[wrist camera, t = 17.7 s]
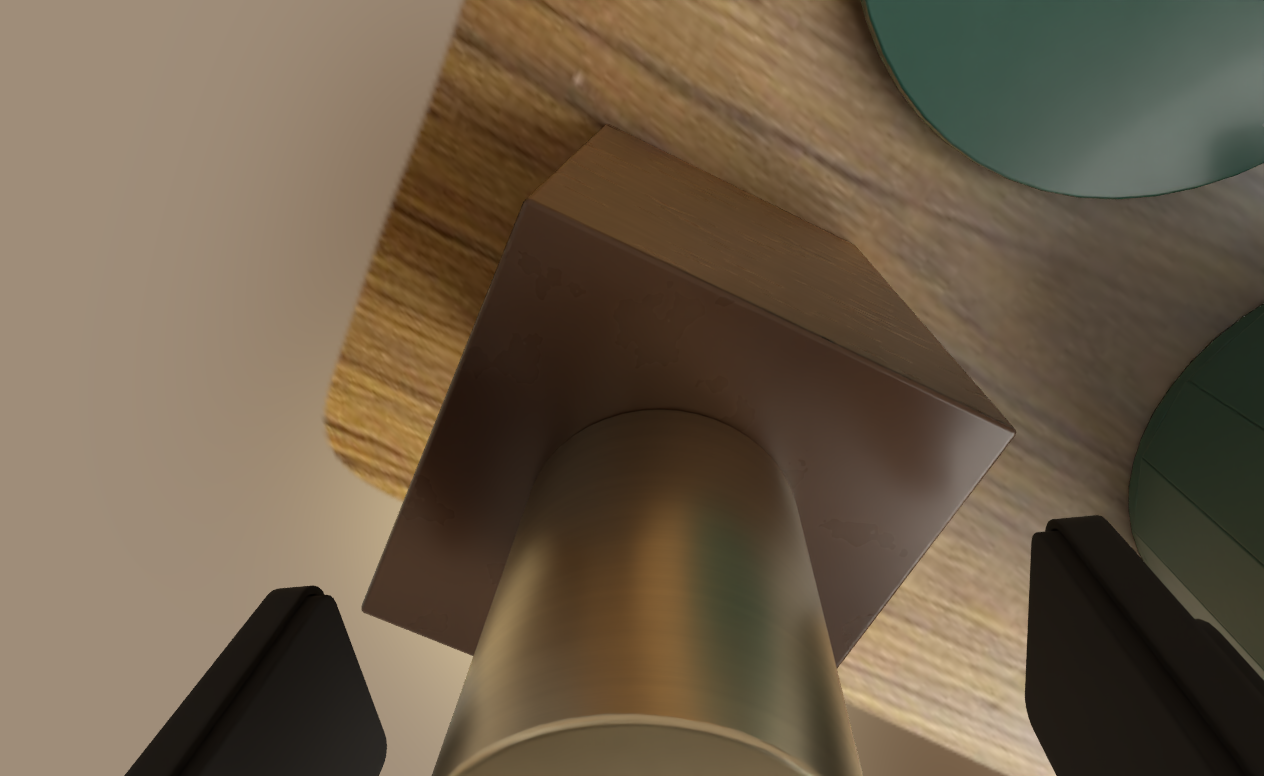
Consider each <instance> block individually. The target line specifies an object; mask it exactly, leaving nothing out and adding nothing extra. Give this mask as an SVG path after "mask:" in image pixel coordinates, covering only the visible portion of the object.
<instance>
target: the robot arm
mask: <svg viewBox="0 0 1264 776" xmlns="http://www.w3.org/2000/svg"><path fill="white" fill-rule="evenodd" d="M1025 702H1026V709H1027V713H1028V717H1029V720H1030V723H1031V725H1032V727H1033V730H1034V732H1035V734H1036V736H1037V738H1038V740H1039V742H1040V744H1041V746H1042V748H1043V750H1044V752H1045V754H1046V756H1047V758H1048V760H1049V762H1050V763H1051V765H1052V767H1053V769H1054V771H1055V773H1056V775H1057V776H1264V680H1263V679H1262V678H1261V677H1260V676H1259V674H1258V673H1257V672H1256V671H1255V670H1254V669H1253V668H1252V667H1251V666H1250V665H1249V663H1248V662H1247V661H1246V660H1245V659H1244V658H1243V657H1242V656H1241V655H1240V654H1239V652H1238V651H1237V650H1236V649H1235V648H1234V647H1233V646H1232V645H1231V644H1230V643H1229V641H1228V640H1227V639H1226V638H1225V637H1224V636H1223V635H1222V634H1221V633H1220V632H1219V631H1218V630H1217V629H1216V628H1215V627H1213V626H1212V625H1211V624H1210V623H1209V622H1206V621H1204V620H1201V619H1194V618H1193V617H1192V615H1191V614H1190V613H1189V612H1188V611H1187V610H1186V609H1185V608H1184V606H1183V605H1182V604H1181V603H1180V602H1179V601H1178V600H1177V599H1176V597H1175V596H1174V595H1173V594H1172V593H1171V592H1170V591H1169V590H1168V588H1167V587H1166V586H1165V585H1164V584H1163V583H1162V582H1161V581H1160V579H1159V578H1158V577H1157V576H1156V575H1155V574H1154V573H1153V572H1152V570H1151V569H1150V568H1149V567H1148V566H1147V565H1146V564H1145V563H1144V561H1143V560H1142V559H1141V558H1140V557H1139V556H1138V555H1137V553H1136V552H1135V551H1134V550H1133V549H1132V548H1131V547H1130V546H1129V544H1128V543H1127V542H1126V541H1125V540H1124V539H1123V538H1122V537H1121V535H1120V534H1119V533H1118V532H1117V531H1116V530H1115V529H1114V528H1113V526H1112V525H1111V524H1110V523H1109V522H1108V521H1107V520H1106V519H1105V518H1104V517H1102V516H1098V515H1094V516H1083V517H1072V518H1061V519H1052V520H1050V521H1048V523H1047V526H1046V530H1045V532H1037V533H1035V534H1034V535H1033V537H1032V544H1031V566H1030V589H1029V612H1028V636H1027V659H1026V682H1025ZM386 750H387V744H386V737H385V733H384V730H383V728H382V725H381V722H380V720H379V717H378V714H377V712H376V709H375V706H374V704H373V701H372V698H371V695H370V693H369V690H368V687H367V685H366V682H365V680H364V677H363V674H362V671H361V669H360V666H359V663H358V660H357V658H356V655H355V653H354V650H353V647H352V645H351V642H350V639H349V636H348V634H347V631H346V628H345V626H344V623H343V620H342V618H341V615H340V612H339V610H338V607H337V604H336V602H335V600H334V598H332V597H331V596H329V595H324V593H323V591H322V590H321V589H320V588H319V587H316V586H303V587H292V588H280V589H276V590H273V591H272V592H270V593H269V594H268V595H267V596H266V598H265V599H264V600H263V601H262V603H261V604H260V605H259V607H258V608H257V609H256V610H255V612H254V613H253V614H252V615H251V617H250V618H249V619H248V620H247V622H246V623H245V624H244V626H243V627H242V628H241V629H240V630H239V632H238V633H237V634H236V635H235V637H234V638H233V639H232V641H231V642H230V643H229V644H228V646H227V647H226V648H225V649H224V651H223V652H222V653H221V654H220V656H219V657H218V658H217V659H216V661H215V662H214V663H213V665H212V666H211V667H210V668H209V670H208V671H207V672H206V673H205V675H204V676H203V677H202V678H201V680H200V681H199V682H198V684H197V685H196V686H195V687H194V688H193V690H192V691H191V692H190V694H189V695H188V696H187V697H186V699H185V700H184V701H183V702H182V704H181V705H180V706H179V708H178V709H177V710H176V711H175V713H174V714H173V715H172V716H171V718H170V719H169V720H168V721H167V723H166V724H165V725H164V726H163V728H162V729H161V730H160V731H159V733H158V734H157V735H156V736H155V738H154V739H153V740H152V742H151V743H150V744H149V745H148V747H147V748H146V749H145V750H144V752H143V753H142V754H141V755H140V757H139V758H138V759H137V760H136V762H135V763H134V764H133V765H132V767H131V768H130V770H129V771H128V772H127V773H126V774H125V776H379V774H380V772H381V769H382V767H383V764H384V762H385V758H386Z"/></svg>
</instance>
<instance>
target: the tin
mask: <svg viewBox="0 0 1264 776" xmlns="http://www.w3.org/2000/svg"><path fill="white" fill-rule="evenodd" d="M432 776H863V774H862V769H861V765H860V761H859V757H858V753H857V749H856V745H855V741H854V737H853V732H852V728H851V724H850V720H849V717H848V712H847V708H846V704H845V700H844V696H843V692H842V688H841V684H840V680H839V675H838V671H837V667H836V663H835V659H834V655H833V651H832V647H831V643H830V639H829V635H828V631H827V627H826V623H825V619H824V614H823V610H822V606H821V602H820V598H819V594H818V590H817V586H816V582H815V578H814V574H813V570H812V566H811V562H810V558H809V553H808V549H807V545H806V541H805V537H804V533H803V529H802V525H801V521H800V517H799V513H798V509H797V505H796V502H795V499H794V496H793V493H792V490H791V487H790V485H789V484H788V482H787V480H786V478H785V476H784V474H783V473H782V471H781V470H780V468H779V467H778V466H777V464H776V463H775V461H774V460H773V459H772V458H771V457H770V456H769V455H768V454H767V453H766V452H765V451H764V450H763V449H762V448H761V447H760V446H759V445H758V444H756V443H755V442H754V441H753V440H751V439H750V438H749V437H747V436H746V435H744V434H742V433H741V432H739V431H737V430H736V429H734V428H733V427H730V426H728V425H726V424H724V423H721V422H719V421H717V420H715V419H711V418H708V417H705V416H702V415H698V414H694V413H688V412H683V411H676V410H642V411H636V412H630V413H625V414H620V415H617V416H614V417H611V418H608V419H604V420H602V421H600V422H598V423H595V424H593V425H591V426H589V427H587V428H585V429H584V430H582V431H580V432H579V433H577V434H576V435H574V436H572V437H571V438H570V439H569V440H568V441H566V442H565V443H564V444H563V445H562V446H560V447H559V448H558V449H557V450H556V452H555V453H554V454H553V455H552V456H551V457H550V458H549V459H548V461H547V462H546V464H545V465H544V467H543V468H542V469H541V471H540V472H539V474H538V476H537V479H536V481H535V483H534V485H533V487H532V490H531V493H530V496H529V498H528V501H527V504H526V507H525V510H524V513H523V516H522V519H521V521H520V524H519V527H518V530H517V533H516V536H515V539H514V541H513V544H512V547H511V550H510V553H509V556H508V559H507V562H506V564H505V567H504V570H503V573H502V576H501V579H500V582H499V584H498V587H497V590H496V593H495V596H494V599H493V602H492V605H491V607H490V610H489V613H488V616H487V619H486V622H485V625H484V627H483V630H482V633H481V636H480V639H479V642H478V645H477V648H476V650H475V653H474V656H473V659H472V662H471V665H470V668H469V671H468V673H467V676H466V679H465V682H464V685H463V688H462V691H461V693H460V696H459V699H458V702H457V705H456V708H455V711H454V713H453V716H452V719H451V722H450V725H449V728H448V731H447V734H446V736H445V739H444V742H443V745H442V748H441V751H440V754H439V757H438V760H437V762H436V765H435V768H434V771H433V774H432Z"/></svg>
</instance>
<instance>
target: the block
mask: <svg viewBox="0 0 1264 776" xmlns="http://www.w3.org/2000/svg"><path fill="white" fill-rule="evenodd" d="M642 410H676V411H683V412H688V413H694V414H698V415H702V416H705V417H708V418H711V419H715V420H717V421H719V422H721V423H724V424H726V425H728V426H730V427H733V428H734V429H736V430H737V431H739V432H741V433H742V434H744V435H746V436H747V437H749V438H750V439H751V440H753V441H754V442H755V443H756V444H758V445H759V446H760V447H761V448H762V449H763V450H764V451H765V452H766V453H767V454H768V455H769V456H770V457H771V458H772V459H773V460H774V461H775V463H776V464H777V466H778V467H779V468H780V470H781V471H782V473H783V474H784V476H785V478H786V480H787V482H788V484H789V485H790V487H791V490H792V493H793V496H794V499H795V502H796V505H797V509H798V513H799V517H800V521H801V525H802V529H803V533H804V537H805V541H806V545H807V549H808V553H809V558H810V562H811V566H812V570H813V574H814V578H815V582H816V586H817V590H818V594H819V598H820V602H821V606H822V610H823V614H824V619H825V623H826V627H827V631H828V635H829V639H830V643H831V647H832V651H833V655H834V659H835V663H836V667H837V668H838V667H839V665H840V664H841V663H842V661H843V660H844V659H845V657H846V656H847V655H848V654H849V652H850V651H851V650H852V648H853V647H854V646H855V644H856V643H857V642H858V640H859V639H860V638H861V637H862V635H863V634H864V633H865V631H866V630H867V629H868V627H869V626H870V625H871V623H872V622H873V621H874V619H875V618H876V617H877V616H878V614H879V613H880V612H881V610H882V609H883V608H884V606H885V605H886V604H887V602H888V601H889V600H890V599H891V597H892V596H893V595H894V593H895V592H896V591H897V589H898V588H899V587H900V585H901V584H902V583H903V582H904V580H905V579H906V578H907V576H908V575H909V574H910V572H911V571H912V570H913V568H914V567H915V566H916V565H917V563H918V562H919V561H920V559H921V558H922V557H923V555H924V554H925V553H926V551H927V550H928V549H929V548H930V546H931V545H932V544H933V542H934V541H935V540H936V538H937V537H938V536H939V534H940V533H941V532H942V531H943V529H944V528H945V527H946V525H947V524H948V523H949V521H950V520H951V519H952V517H953V516H954V515H955V513H956V512H957V511H958V510H959V508H960V507H961V506H962V504H963V503H964V502H965V500H966V499H967V498H968V496H969V495H970V494H971V493H972V491H973V490H974V489H975V487H976V486H977V485H978V483H979V482H980V481H981V479H982V478H983V477H984V476H985V474H986V473H987V472H988V470H989V469H990V468H991V466H992V465H993V464H994V462H995V461H996V460H997V459H998V457H999V456H1000V455H1001V453H1002V452H1003V451H1004V449H1005V448H1006V447H1007V445H1008V444H1009V443H1010V442H1011V440H1012V439H1013V438H1014V436H1015V434H1016V430H1015V429H1014V427H1013V426H1012V425H1011V424H1010V423H1009V422H1008V420H1007V419H1006V418H1005V417H1004V416H1003V415H1002V414H1001V412H1000V411H999V410H998V409H997V408H996V407H995V405H994V404H993V403H992V402H991V401H990V400H989V399H988V397H987V396H986V395H985V394H984V393H983V392H982V391H981V389H980V388H979V387H978V386H977V385H976V384H975V383H974V381H973V380H972V379H971V378H970V377H969V376H968V375H967V373H966V372H965V371H964V370H963V369H962V368H961V366H960V365H959V364H958V363H957V362H956V361H955V360H954V358H953V357H952V356H951V355H950V354H949V353H948V352H947V350H946V349H945V348H944V347H943V346H942V345H941V344H940V342H939V341H938V340H937V339H936V338H935V337H934V336H933V334H932V333H931V332H930V331H929V330H928V329H927V327H926V326H925V325H924V324H923V323H922V322H921V321H920V319H919V318H918V317H917V316H916V315H915V314H914V313H913V311H912V310H911V309H910V308H909V307H908V306H907V305H906V303H905V302H904V301H903V300H902V299H901V298H900V297H899V295H898V294H897V293H896V292H895V291H894V290H893V289H892V287H891V286H890V285H889V284H888V283H887V282H886V280H885V279H884V278H883V277H882V276H881V275H880V274H879V272H878V271H877V270H876V269H875V268H874V267H873V266H872V264H871V263H870V262H869V261H868V260H867V259H866V258H865V256H864V255H863V254H862V253H861V252H860V251H859V250H858V248H857V247H856V246H855V245H853V244H851V243H849V242H847V241H845V240H843V239H841V238H839V237H837V236H835V235H833V234H831V233H829V232H827V231H825V230H823V229H821V228H819V227H817V226H814V225H812V224H810V223H808V222H806V221H804V220H802V219H800V218H798V217H796V216H794V215H792V214H790V213H788V212H786V211H784V210H782V209H780V208H778V207H776V206H774V205H772V204H770V203H768V202H766V201H764V200H762V199H760V198H758V197H756V196H754V195H752V194H750V193H748V192H745V191H743V190H741V189H739V188H737V187H735V186H733V185H731V184H729V183H727V182H725V181H723V180H721V179H719V178H717V177H715V176H713V175H711V174H709V173H707V172H705V171H703V170H701V169H699V168H697V167H695V166H693V165H691V164H689V163H687V162H685V161H683V160H681V159H679V158H676V157H674V156H672V155H670V154H668V153H666V152H664V151H662V150H660V149H658V148H656V147H654V146H652V145H650V144H648V143H646V142H644V141H642V140H640V139H638V138H636V137H634V136H632V135H630V134H628V133H626V132H624V131H622V130H620V129H618V128H616V127H614V126H612V125H610V124H606V125H605V126H604V127H603V128H602V129H600V130H599V131H598V132H597V133H596V134H595V135H594V136H593V137H592V138H591V139H590V140H589V141H588V142H587V143H586V144H585V145H583V146H582V147H581V148H580V149H579V150H578V151H577V152H576V153H575V154H574V155H573V156H572V157H571V158H570V159H569V160H567V161H566V162H565V163H564V164H563V165H562V166H561V167H560V168H559V169H558V170H557V171H556V172H555V173H554V174H553V175H552V176H550V177H549V178H548V179H547V180H546V181H545V182H544V183H543V184H542V185H541V186H540V187H539V188H538V189H537V190H536V191H534V192H533V193H532V194H531V195H530V196H529V197H528V198H527V199H526V200H525V201H524V202H523V204H522V207H521V209H520V212H519V214H518V217H517V219H516V222H515V224H514V227H513V229H512V232H511V234H510V237H509V239H508V242H507V244H506V247H505V249H504V252H503V254H502V257H501V259H500V262H499V264H498V267H497V269H496V272H495V274H494V277H493V279H492V282H491V284H490V287H489V289H488V292H487V294H486V297H485V299H484V302H483V304H482V307H481V309H480V312H479V314H478V317H477V319H476V322H475V324H474V327H473V329H472V332H471V334H470V337H469V339H468V342H467V344H466V347H465V349H464V352H463V354H462V357H461V359H460V362H459V364H458V367H457V369H456V372H455V374H454V377H453V379H452V382H451V384H450V387H449V389H448V392H447V394H446V397H445V399H444V402H443V404H442V407H441V409H440V411H439V414H438V416H437V419H436V421H435V424H434V426H433V429H432V431H431V434H430V436H429V439H428V441H427V444H426V446H425V449H424V451H423V454H422V456H421V459H420V461H419V464H418V466H417V469H416V471H415V474H414V476H413V479H412V481H411V484H410V486H409V489H408V491H407V494H406V496H405V499H404V501H403V504H402V506H401V509H400V511H399V514H398V516H397V519H396V521H395V524H394V526H393V529H392V531H391V534H390V536H389V539H388V541H387V544H386V546H385V549H384V551H383V554H382V556H381V559H380V561H379V564H378V566H377V569H376V571H375V574H374V576H373V579H372V581H371V584H370V586H369V589H368V591H367V594H366V596H365V599H364V601H363V604H362V611H363V612H364V613H366V614H369V615H372V616H374V617H376V618H379V619H381V620H384V621H386V622H389V623H391V624H394V625H396V626H399V627H401V628H404V629H406V630H409V631H412V632H414V633H417V634H419V635H422V636H424V637H427V638H429V639H432V640H435V641H437V642H439V643H442V644H444V645H447V646H450V647H452V648H454V649H457V650H460V651H462V652H464V653H467V654H469V655H472V656H474V653H475V650H476V648H477V645H478V642H479V639H480V636H481V633H482V630H483V627H484V625H485V622H486V619H487V616H488V613H489V610H490V607H491V605H492V602H493V599H494V596H495V593H496V590H497V587H498V584H499V582H500V579H501V576H502V573H503V570H504V567H505V564H506V562H507V559H508V556H509V553H510V550H511V547H512V544H513V541H514V539H515V536H516V533H517V530H518V527H519V524H520V521H521V519H522V516H523V513H524V510H525V507H526V504H527V501H528V498H529V496H530V493H531V490H532V487H533V485H534V483H535V481H536V479H537V476H538V474H539V472H540V471H541V469H542V468H543V467H544V465H545V464H546V462H547V461H548V459H549V458H550V457H551V456H552V455H553V454H554V453H555V452H556V450H557V449H558V448H559V447H560V446H562V445H563V444H564V443H565V442H566V441H568V440H569V439H570V438H571V437H572V436H574V435H576V434H577V433H579V432H580V431H582V430H584V429H585V428H587V427H589V426H591V425H593V424H595V423H598V422H600V421H602V420H604V419H608V418H611V417H614V416H617V415H620V414H625V413H630V412H636V411H642Z"/></svg>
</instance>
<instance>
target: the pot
mask: <svg viewBox="0 0 1264 776" xmlns="http://www.w3.org/2000/svg"><path fill="white" fill-rule="evenodd" d="M1129 515H1130V522H1131V528H1132V534H1133V537H1134V540H1135V542H1136V545H1137V548H1138V551H1139V554H1140V556H1141V557H1142V559H1143V561H1144V563H1145V564H1146V565H1147V566H1148V567H1149V568H1150V569H1151V570H1152V572H1153V573H1154V574H1155V575H1156V576H1157V577H1158V578H1159V579H1160V581H1161V582H1162V583H1163V584H1164V585H1165V586H1166V587H1167V588H1168V590H1169V591H1170V592H1171V593H1172V594H1173V595H1174V596H1175V597H1176V599H1177V600H1178V601H1179V602H1180V603H1181V604H1182V605H1183V606H1184V608H1185V609H1186V610H1187V611H1188V612H1189V613H1190V614H1191V615H1192V617H1193V618H1194V619H1201V620H1204V621H1206V622H1209V623H1210V624H1211V625H1212V626H1213V627H1215V628H1216V629H1217V630H1218V631H1219V632H1220V633H1221V634H1222V635H1223V636H1224V637H1225V638H1226V639H1227V640H1228V641H1229V643H1230V644H1231V645H1232V646H1233V647H1234V648H1235V649H1236V650H1237V651H1238V652H1239V654H1240V655H1241V656H1242V657H1243V658H1244V659H1245V660H1246V661H1247V662H1248V663H1249V665H1250V666H1251V667H1252V668H1253V669H1254V670H1255V671H1256V672H1257V673H1258V674H1259V676H1260V677H1261V678H1262V679H1263V680H1264V304H1263V305H1261V306H1259V307H1258V308H1256V309H1255V310H1253V311H1252V312H1250V313H1249V314H1247V315H1246V316H1244V317H1242V318H1241V319H1240V320H1239V321H1237V322H1236V323H1235V324H1234V325H1232V326H1231V327H1230V328H1229V329H1227V330H1226V331H1225V332H1224V333H1222V334H1221V335H1220V336H1219V337H1217V338H1216V339H1215V340H1214V341H1213V342H1212V343H1211V344H1210V345H1209V346H1208V347H1207V348H1206V349H1205V350H1204V351H1203V352H1201V353H1200V354H1199V355H1198V356H1197V357H1196V358H1195V359H1194V360H1193V361H1192V362H1191V363H1190V365H1189V366H1188V367H1187V368H1186V369H1185V371H1184V372H1183V373H1182V374H1181V375H1180V377H1179V378H1178V379H1177V380H1176V381H1175V383H1174V384H1173V385H1172V386H1171V388H1170V389H1169V391H1168V392H1167V394H1166V395H1165V397H1164V398H1163V400H1162V401H1161V403H1160V404H1159V406H1158V407H1157V409H1156V410H1155V412H1154V414H1153V416H1152V418H1151V420H1150V422H1149V424H1148V426H1147V428H1146V430H1145V432H1144V434H1143V436H1142V439H1141V442H1140V445H1139V448H1138V451H1137V454H1136V457H1135V459H1134V463H1133V468H1132V474H1131V479H1130V485H1129Z"/></svg>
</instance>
